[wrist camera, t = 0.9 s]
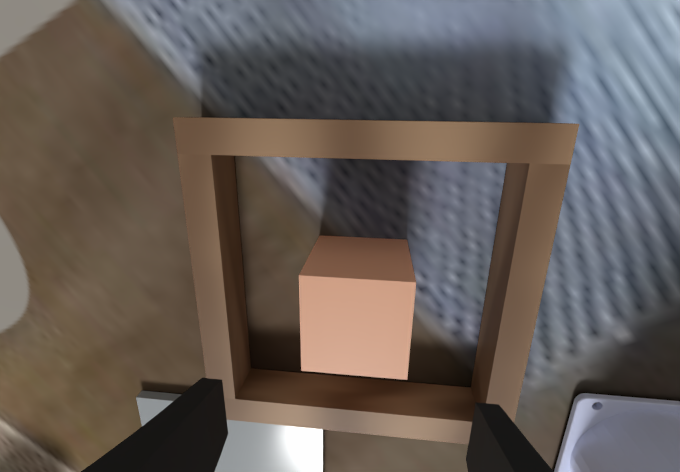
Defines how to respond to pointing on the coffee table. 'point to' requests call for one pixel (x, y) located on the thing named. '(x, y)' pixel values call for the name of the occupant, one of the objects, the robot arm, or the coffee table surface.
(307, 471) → the tile
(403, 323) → the terracotta block
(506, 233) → the well frame
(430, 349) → the coffee table surface
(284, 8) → the coffee table surface
